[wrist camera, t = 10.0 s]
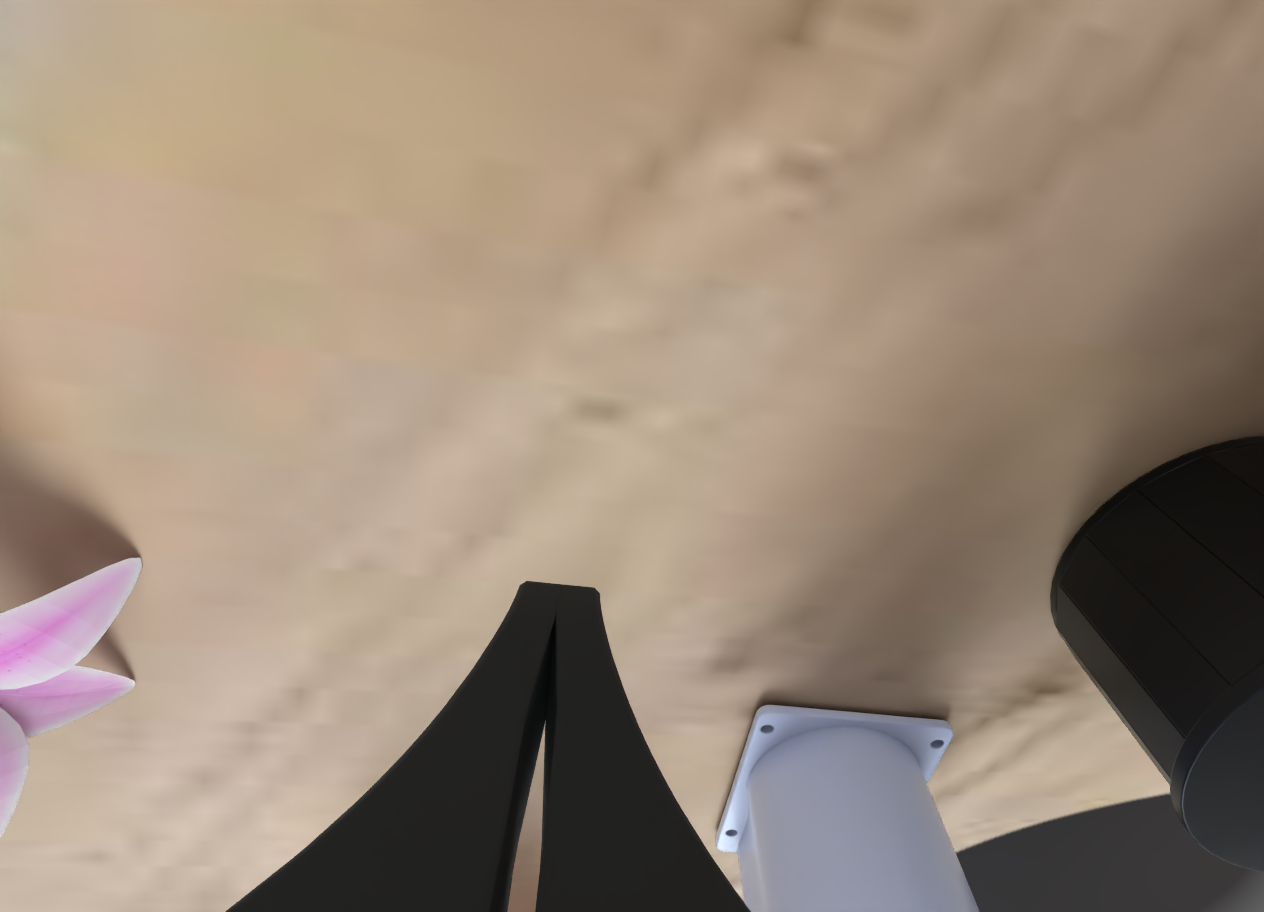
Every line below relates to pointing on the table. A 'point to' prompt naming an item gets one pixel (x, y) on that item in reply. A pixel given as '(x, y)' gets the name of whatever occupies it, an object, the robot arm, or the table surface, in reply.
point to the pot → (1170, 592)
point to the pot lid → (1226, 775)
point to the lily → (55, 666)
